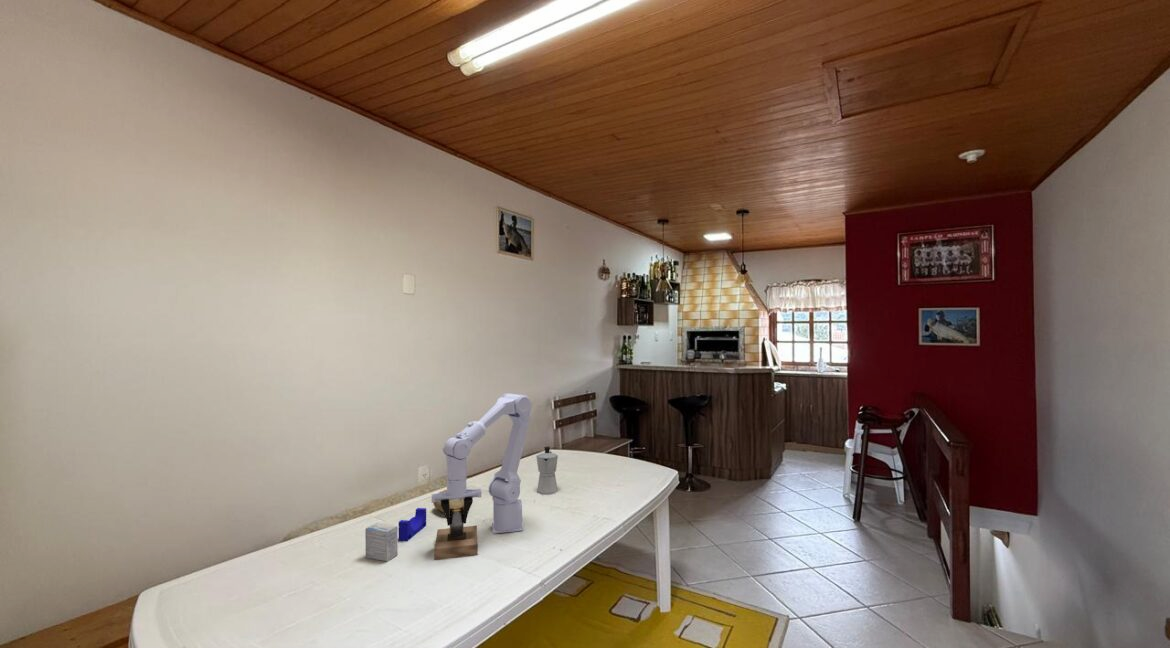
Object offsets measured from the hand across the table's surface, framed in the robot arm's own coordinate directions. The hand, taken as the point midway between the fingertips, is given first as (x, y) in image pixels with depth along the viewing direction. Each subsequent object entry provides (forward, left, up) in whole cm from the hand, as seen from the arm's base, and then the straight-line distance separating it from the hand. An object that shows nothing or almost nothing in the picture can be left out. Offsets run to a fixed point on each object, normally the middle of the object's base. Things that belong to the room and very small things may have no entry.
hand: (456, 523), depth 142 cm
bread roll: (+3, -30, -7) cm, 31 cm away
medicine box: (+21, +1, -7) cm, 22 cm away
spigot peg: (0, 0, -3) cm, 4 cm away
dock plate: (0, 0, -7) cm, 7 cm away
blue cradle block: (+15, -14, -7) cm, 22 cm away
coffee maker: (-35, -44, -7) cm, 57 cm away
